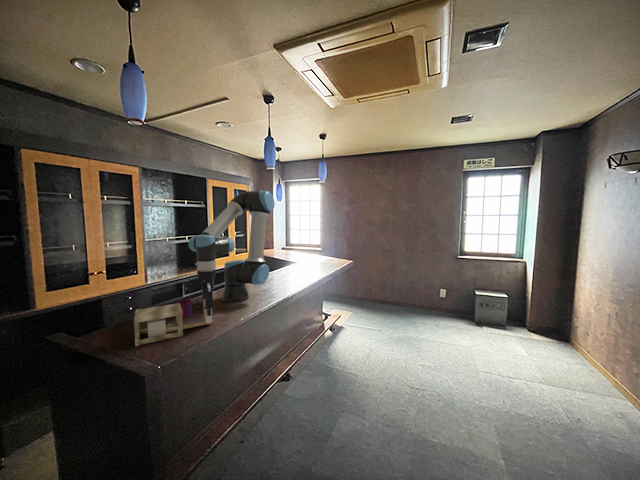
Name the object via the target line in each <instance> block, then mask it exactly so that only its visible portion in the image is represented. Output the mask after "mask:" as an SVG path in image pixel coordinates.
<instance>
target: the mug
mask: <svg viewBox="0 0 640 480" xmlns="http://www.w3.org/2000/svg"><path fill="white" fill-rule="evenodd" d="M177 303H180V305H181V309H182V312H183V315H182V319H183V318H189V317H190V316H192V315H193V314H192V313H193V311H192V310H193V309H192V307H193V306H192V305H193V304H192V300H191V299H181V300H177V301H176V303H175V304H177Z"/></svg>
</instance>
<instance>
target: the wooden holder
mask: <svg viewBox="0 0 640 480" xmlns="http://www.w3.org/2000/svg"><path fill="white" fill-rule="evenodd" d="M134 311H135V313H134V317H133V327H134V345H135V347H139V346H141V345H146V344H151V343H156V342H159V341H163V340H165V341H166V340H168V339H174V338H180V337H183V336H184V331H183V330H184V329H183V325H184V324H183V318H182V315H183V312H182V309H181V305H180V303H177V304H176V303H172V304H165V305H159V306H152V307H151V306H150V307H146V308H138V309H135V310H134ZM172 317H175V322H174V323H168V324H165V325H166V329H167V328H172V327H177V326H178V330H177V331H174V332H169V333H166V334H165V335H160V336H155V337H151V338H148V337H145V338H142V339H141V335H145V334H148V327H146V328H143V329H141V323H143V322H148V321H150V320H156V319H161V318H165V319H166V318H172Z"/></svg>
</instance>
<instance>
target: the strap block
mask: <svg viewBox="0 0 640 480" xmlns="http://www.w3.org/2000/svg"><path fill="white" fill-rule="evenodd" d="M202 301H203V302H202V304H203V306H202V307H203V308H202V309H203V321H198V322H193V323H188V324H182V325H183V330H185V329H190V328H195V327H201V326H204V325H211V324H212V323H213V321H212V322H209V323H205V309H204V308H205V307H206V306H205V299H203V298H202ZM146 322H147V324H146V325H147V328H148V333H147V338H151V337H155V336H160V335H165V334H168V333H173V332H178V326H177V327H172V328H167V329H166V325H167V324H166V318H161V319H156V320H150V321H146Z"/></svg>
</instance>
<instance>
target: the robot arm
mask: <svg viewBox="0 0 640 480" xmlns="http://www.w3.org/2000/svg"><path fill="white" fill-rule="evenodd" d="M275 204H276V202H275V198H274V197H273V194H272V193H271V192H269V191H267V190H252V191H251V190H247V191H242V192H239V194H237V195H236V196H234V197H233V198H232V199H231V200H229V202H228V203H227V206H226V208H225V209H223V211H221V213H220V214H219V215H218V216H217V217H216V218H215V219H214V220H212V222H211V223H210V224H209V225H208V226H207V227H206V228H205V229H204V230H203V231H202V232H201V234H199V235H197V236H193V237H191V238H190V239H189V241H188V244H187V245H188V248H189V249H190V250H191V251H192V252H195V253H196V262H195V266H196V270H197V271H196V277H197V278H196V279H197V280H199V281H201V282H200V283H201V293H202V303H203V299H205V306H206V307H205V308H204V309H205V323H209V322H212V323H213V308H214V306H213V305H214V304H213V302H214V299H213V295H214V294H213V291H214V289H213V288H214V287H213V282H212V281H211V280H214V279H215V278H216V275H217V273H216V256H217V255H221V254H228V253H231V252H233V251H234V249H235V248H236V247H235V246H236V245H235V241H234V240H233V238H231V237H221V236H222V234H223V233H224V232H225V231H226V230H227V229H228V228H229V226H230V225H231V224H232V223H233V222H234V221H235V220H236V219H237V218H238V216H241V215H243V214H244V213H246V212H248V214H249V215H250V217H251V218H250V219H251V221H250V230H249V240H248V241H249V243H248V257H247V258H246V259H238V260H237V259H235V260H229V261H227V262H225V263H224V268H223V270H224V271H223V273H224V289H223V292H222V294H221V295H222V296H221V301H222V302H224V303H231V304H235V303H241V302H244V301H247V300H249V296H250V295H249V291H248V289H247V286H246V284H250V285H253V286H256V285H259V286H261V285H263V284H264V283H266V281H267V280H268V278H269V276H270V275H269V274H270V268H269V265H267V263H266V262H267V261H266V260H265V259H264V255H265V254H264V253H265V245H266V244H265V243H266V232H267V231H266V228H267V219H268V217H269V216H270V213H271V212H272V211H273V210H274V209H275ZM204 309H203V310H204Z"/></svg>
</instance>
